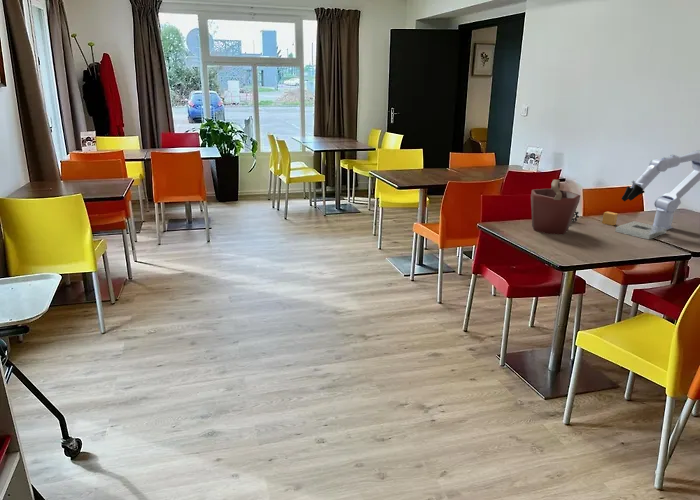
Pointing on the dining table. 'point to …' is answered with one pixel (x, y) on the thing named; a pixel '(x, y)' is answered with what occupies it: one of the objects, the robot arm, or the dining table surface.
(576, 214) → the valve
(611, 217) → the orange rectangular block
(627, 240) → the dining table surface
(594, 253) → the dining table surface
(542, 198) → the bucket
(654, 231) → the grey plate with hole
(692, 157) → the robot arm
